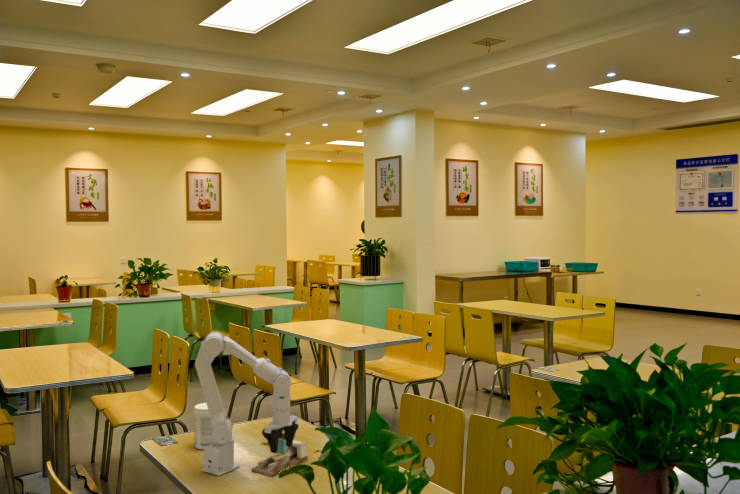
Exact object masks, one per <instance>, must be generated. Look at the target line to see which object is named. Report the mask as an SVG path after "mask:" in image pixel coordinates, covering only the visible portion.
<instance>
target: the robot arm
mask: <svg viewBox="0 0 740 494" xmlns="http://www.w3.org/2000/svg"><path fill="white" fill-rule="evenodd" d="M221 353H222V355H223V356H224V355H225V356H226V355H233V356H234V357H235V358H238V359H239V360H240V361H242V362H243V363H246V364H247V365H249V366H250V367H251V368H252V372H253V374H255V375H256V376H257V377H259V378H261V379H263V381H265V382H266V383H268V384H272V387H273V393H272V421H271V422H270V423H268V424H267V425H265V426H264V428H265V431H264V435H265V437H266V438H267V439H266V438H265V437H264V438H265V439H266V441H267V443H268V447H269V450H270V453H272V454H278V453H277V450H278V440H279V436H280V434H281V433H277V431H276V430H277V429H279V428H282V427H283V434H285V440H286V446H290V447H291V446H292V443H293V440H295V437H294V435H296V432H297V430H298V429H299V423H298V416H296V415H291V393H290V392H291V385H292V382H291V381H292V380H291V377H290V375H289V373H288V372H287V371H286V370H285V369H283V368H282V367H278V366H276V365H275V364H273V362H271V359H269V358H265V357H260V358H258V357H256V356H255V355H254V354H252V353H251V352H249V351H248V350H247V349H245V348H244V347H242V346H241V345H240V344H239V343H238V342H236V341H235V340H233V339H231V338H230V337H228V336H227V335H223V334H222V333H221V332H219V331H211V332H209V333H208V334H207V335H206V337H205V338H204V339H203V340H202V341H201V345H200V347H199V351H198V353H197V356H196V358H195V362H194V366H195V370H196V373H197V376H198V379H199V383H200V386H201V389H202V393H203V396H204V399H205V403H207V407H208V410H209V413H210V417H211V424H212V428H213V431H212V439H211V443H210V445H209V446H207V447H206V448H205V450H203V457H202V458H203V468H202V469H201V472H204V473H209V474H211V475H215V476H222V475H224V474H226V473H229V472H231V471H233V470H235V469H237V468H240V464H237V463H235V439H234V437H233V429H234V428H233V427H234V425H233V422H232V420H231V419H230V418H229V417H228V414H227V412H226V410H225V407H224V404H223V401H222V397H221V395H220V391H219V388H218V384H217V380H216V378H215V374H214V371H213V368H212V363H213V361H214V360H215V358H216V357H217V356H219V355H220V354H221Z"/></svg>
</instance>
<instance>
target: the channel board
mask: <svg viewBox="0 0 740 494" xmlns="http://www.w3.org/2000/svg"><path fill="white" fill-rule="evenodd" d="M272 456H273V455H271V456H269V457H267V458H265V459H262V460H261V461H258V462H257V465H256V466H253V467H252V468H251V473H256V474H259V475H262V476H267V477H270V478H273V477H274V476H277V475H278V473H279V472H280V471H281V470H283V469H286V468H289V467H291V465H292V466H293V465H295V466H298V465H299V464H301V463H303V462H305V461H307V460H309V457H308V456H306V457H304V458H302V459H300V458H297V455H296V456H293V457H291V458H289V456H286V457H284V458H282V459H280V460H278V461H276V462H273V463H272V462H271V457H272ZM298 463H299V464H298ZM288 466H289V467H288ZM293 467H294V466H293ZM291 468H292V467H291ZM289 469H290V468H289ZM279 474H280V473H279Z"/></svg>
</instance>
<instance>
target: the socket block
mask: <svg viewBox="0 0 740 494" xmlns="http://www.w3.org/2000/svg"><path fill="white" fill-rule="evenodd" d="M307 444H308V443H307V442H304V441H299V440H296V439H293V443H292V446H291V447H293V446H295V447H297V458H300V459H302V458H304V457H306V456H307V453H308V451H307V450H308V449H307V448H308V447H307ZM291 447H290V446H286V450H287V449H289V448H291Z"/></svg>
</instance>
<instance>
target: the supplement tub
mask: <svg viewBox="0 0 740 494" xmlns="http://www.w3.org/2000/svg"><path fill="white" fill-rule="evenodd" d="M193 427H194V431H193V432H194V434H193V435H194V437H193V438H194V447H195V449H198V450H200V451H204V450H205V448H206V447H207V446H209V445H210V443H211V439H212V431H213V428H212V424H211V417H210V413H209V410H208V407H207V403H206V402H201V403H197V404H195V405H194V409H193Z"/></svg>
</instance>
